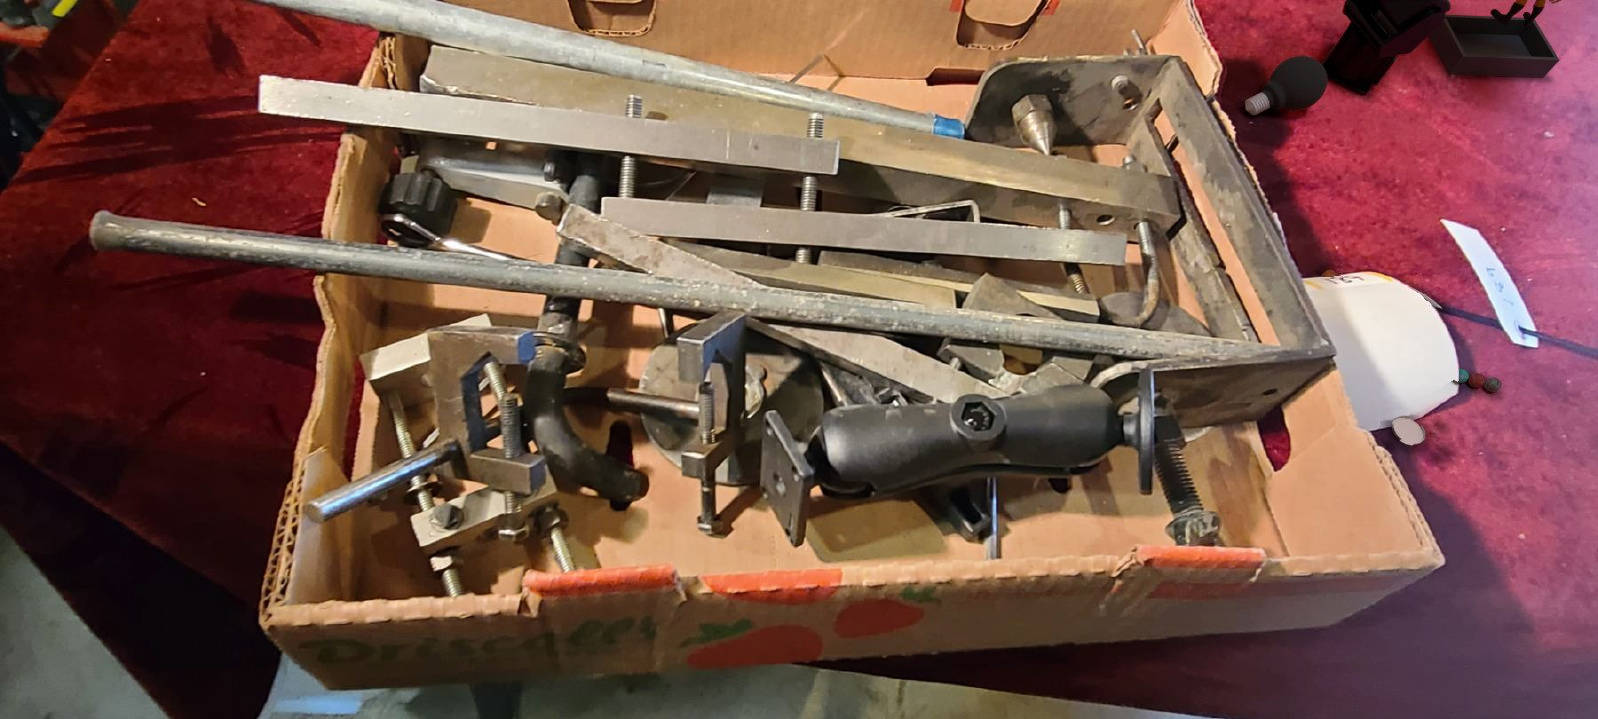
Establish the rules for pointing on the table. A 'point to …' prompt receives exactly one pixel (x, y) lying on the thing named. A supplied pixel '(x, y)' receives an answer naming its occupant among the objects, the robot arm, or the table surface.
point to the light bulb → (1291, 86)
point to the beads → (1479, 380)
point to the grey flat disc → (1407, 431)
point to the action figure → (1518, 6)
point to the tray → (1493, 47)
